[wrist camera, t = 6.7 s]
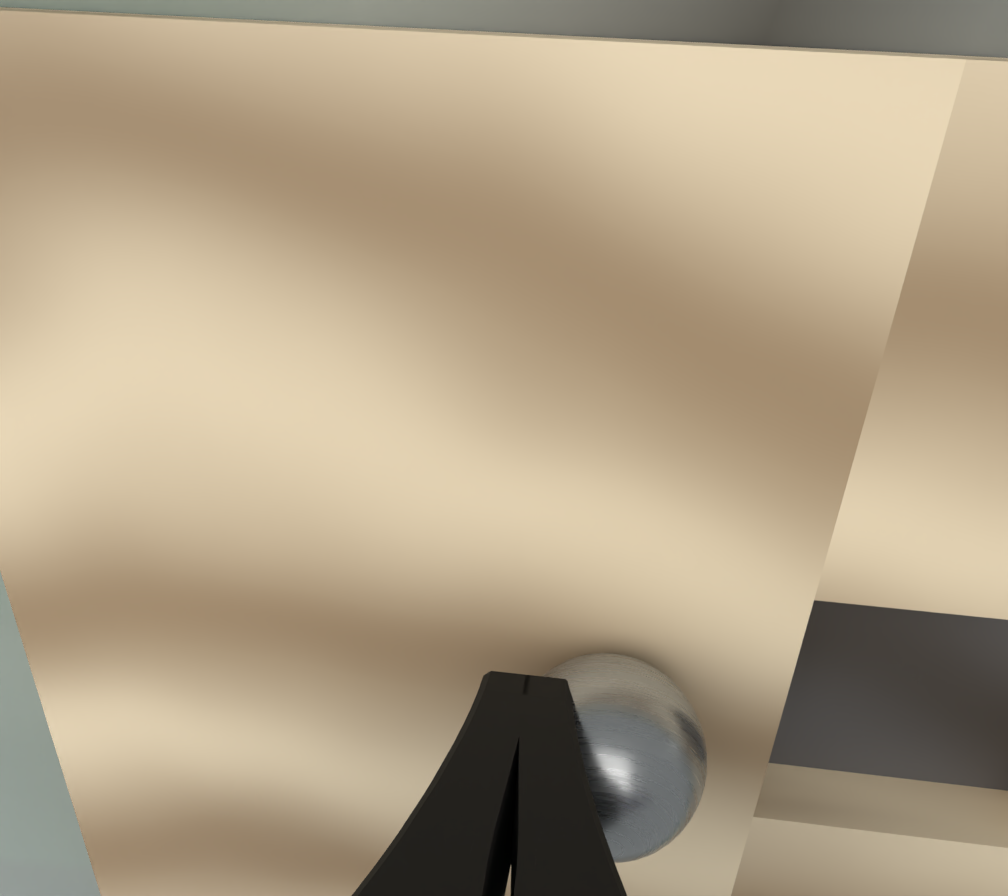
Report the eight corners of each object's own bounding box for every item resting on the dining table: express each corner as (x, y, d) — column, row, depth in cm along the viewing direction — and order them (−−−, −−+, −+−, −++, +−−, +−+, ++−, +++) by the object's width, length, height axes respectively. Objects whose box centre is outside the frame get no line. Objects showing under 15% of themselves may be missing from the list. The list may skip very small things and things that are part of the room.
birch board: (1142, 1031, 19) (1181, 1107, 18) (150, 895, 21) (119, 955, 19) (1854, 100, 9) (2056, 115, 8) (-86, 2, 11) (-177, 1, 10)
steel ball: (505, 888, 13) (529, 718, 15) (705, 911, 12) (697, 731, 14) (484, 782, 11) (515, 608, 13) (720, 805, 10) (709, 618, 13)
